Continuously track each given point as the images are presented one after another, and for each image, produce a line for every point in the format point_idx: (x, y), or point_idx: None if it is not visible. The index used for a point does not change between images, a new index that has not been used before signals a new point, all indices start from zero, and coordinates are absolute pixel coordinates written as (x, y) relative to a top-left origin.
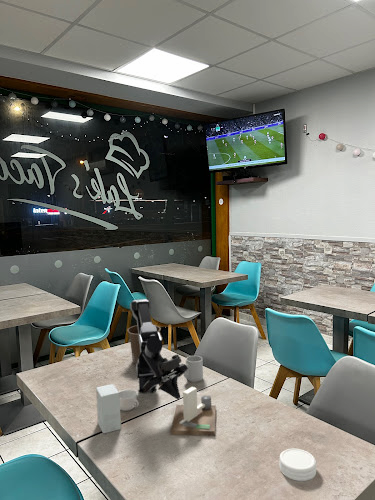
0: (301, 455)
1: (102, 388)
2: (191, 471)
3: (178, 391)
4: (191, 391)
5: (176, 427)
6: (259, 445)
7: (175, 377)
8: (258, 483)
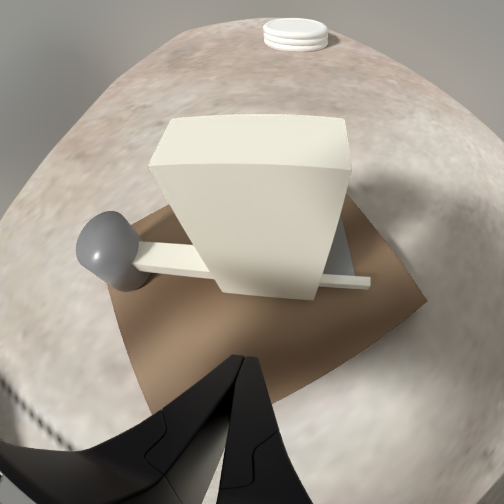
0: (282, 24)
1: None
2: (466, 149)
3: (201, 387)
4: (267, 115)
5: (392, 292)
6: (266, 78)
7: (47, 485)
8: (377, 62)
